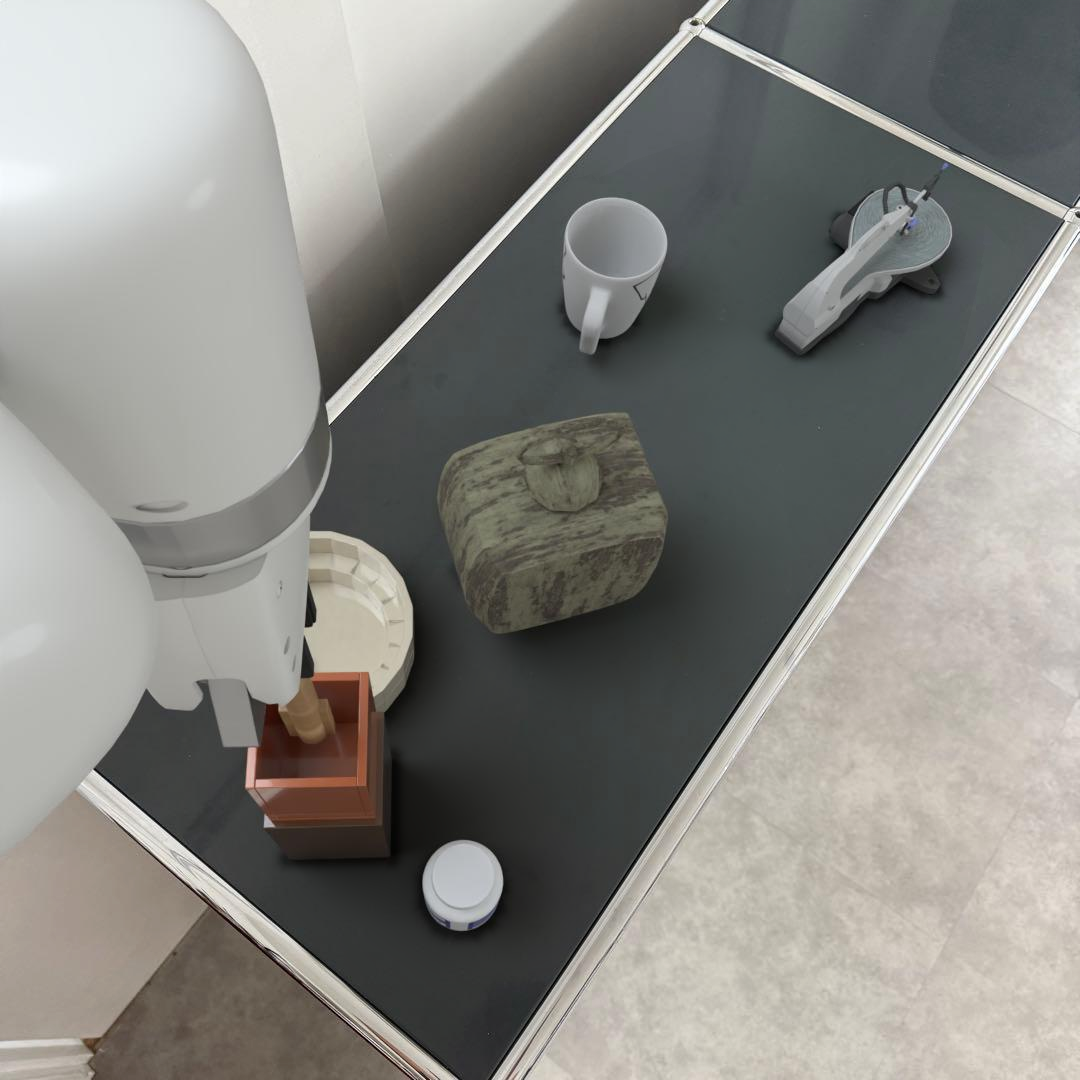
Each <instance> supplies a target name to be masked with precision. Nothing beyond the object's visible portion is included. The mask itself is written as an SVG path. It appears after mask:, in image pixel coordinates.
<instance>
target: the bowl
mask: <svg viewBox="0 0 1080 1080" xmlns="http://www.w3.org/2000/svg"><path fill="white" fill-rule="evenodd" d="M308 582H309V585H310V589H311V592H312V595H313V599H314V602H315V606H316V609H317V614H316V622H315V623H313V626H312V627H309V628H304V635H305V638H306V641H307V644H308V647H309V650H310V653H311V655H312V658H313V661H314V673H315V672H359V673H360V672H369V676H370V681H371V687H372V692H373V697H374V703H375V708H376V712H384V713H385V712H386V711H387V710H388V709H390V707H391V705H392V704H393V703H394V701H395V700H396V698H398V697H399V695H400V694H401V692H402V691H403V690H404V688H405V687H406V684H407V681H408V678H409V675H410V673H411V669H412V666H413V665H414V661H415V620H414V618H415V617H414V605H413V602H412V599H411V597H410V594H409V591H408V588H407V585H406V582H405V580H404V578H403V576H402V575H401V574H400V573H399V571H398V570H397V569H396V567H395V566H394V565H393V563H392V562H391V561H390V560H389V558H388V557H387V556H386V555H385V554H383V553H382V552H380V551H379V550H377V549H376V548H375V547H373V546H371V545H370V544H368V543H367V542H365V541H364V540H362V539H359V538H357V537H352V536H349V535H346V534H343V533H338V532H335V531H331V530H310V543H309V569H308Z"/></svg>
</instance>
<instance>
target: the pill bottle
mask: <svg viewBox="0 0 1080 1080" xmlns="http://www.w3.org/2000/svg"><path fill="white" fill-rule="evenodd" d="M421 883H422V884H421V885H422V893H423V898H424V902H425V906H426V908H427V910H428V912H429V914H430V915H431V917H432V918H433V919H434V920H435V921H436V923H438V924H439V925H441V926H443V927H445V928H447V929H449V930H452V931H456V932H457V931H458V932H464V931H465V932H467V931H470V930H474V929H477V928H479V927H480V926H482V925H484V924H486V922H487V921H488V920H489V919H490V918H491V917H492V916H493V914H495V913H494V912H495V911H496V909H497V907H498V905H499V901H500V898H501V896H502V892H503V887H504V876H503V870H502V866H501V864H500V862H499V860H498V858H497V856H496V855H495V854H494V853H493V852H492V851H491V850H490V849H489V848H488V847H487V846H485V845H483V844H482V843H480V842H477V841H475V840H474V841H473V840H470V839H457V840H453V841H450V842H447V843H445V844H443V845H442V846H440V847H439V848H438V849H436V850H435V851H434V853H433V854H431V856H430V858H429V859H428V860H427V863H426V865H425V867H424V870H423V873H422V881H421Z"/></svg>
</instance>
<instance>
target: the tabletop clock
mask: <svg viewBox="0 0 1080 1080" xmlns="http://www.w3.org/2000/svg"><path fill="white" fill-rule="evenodd" d="M436 501H437V502H436V503H437V507H438V513H439V514H438V515H439V519H440V521H441V525H442V528H443V531H444V535H445V537H446V541H447V545H448V547H449V550H450V554H451V558H452V561H453V564H454V567H455V571H456V574H457V578H458V581H459V584H460V587H461V591H462V593H463V597H464V601H465V603H466V606H467V608H468V611H469V612H470V613H471V615H473V616H474V617H475V618H476V619H477V620H478V621H479V622H480V623H482V624H483V625H484V626H485V627H486V628H487V629H488V630H489V631H490V632H491V633H493V634H495V635H500V634H507V633H513V632H518V631H522V630H526V629H530V628H533V627H537V626H542V625H546V624H550V623H554V622H557V621H561V620H565V619H569V618H573V617H576V616H580V615H583V614H586V613H590V612H593V611H597V610H600V609H604V608H607V607H611V606H614V605H617V604H619V603H622V602H625V601H627V600H630V599H632V598H634V597H635V596H636V595H638V593H640V592H641V591H642V590H643V589H644V588H645V586H646V585H647V583H648V581H649V580H650V578H651V577H652V575H653V573H654V572H655V570H656V568H657V566H658V563H659V561H660V558H661V555H662V552H663V549H664V545H665V538H666V533H667V527H668V521H669V514H668V510H667V507H666V504H665V502H664V500H663V496H662V495H661V491H660V489H659V486H658V485H657V482H656V480H655V477H654V474H653V472H652V468H651V466H650V464H649V461H648V458H647V455H646V453H645V451H644V449H643V446H642V444H641V441H640V438H639V436H638V433H637V430H636V428H635V426H634V422H633V421H632V419H631V417H630V415H629V414H628V412H605V413H597V414H591V415H585V416H580V417H576V418H570V419H565V420H561V421H560V420H559V421H555V422H550V423H545V424H541V425H537V426H532V427H529V428H525V429H522V430H518V431H514V432H510V433H507V434H503V435H500V436H496V437H492V438H489V439H486V440H483V441H480V442H477V443H473V444H471V445H469V446H467V447H465V448H462V449H460V450H458V451H455V452H453V454H452V455H451V456H450V457H449V460H447V462H446V463H445V464H444V467H443V469H442V471H441V473H440V477H439V483H438V488H437V495H436Z"/></svg>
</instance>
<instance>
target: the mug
mask: <svg viewBox="0 0 1080 1080" xmlns="http://www.w3.org/2000/svg"><path fill="white" fill-rule="evenodd" d="M564 231H565V232H564V237H563V248H562V249H563V250H562V251H563V253H562V269H561V270H562V272H561V273H562V285H563V286H562V287H563V288H562V289H563V297H564V307H565V312H566V315H567V317H568V320H569V322H570V323H571V324H572V326H573V327H574V328H575V329H576V330H577V331H579V332H580V338H579V339H580V340H579V351H580V352H581V353H583V354H586V355H594V354H595V352H596V350H597V347H598V343H599V340H600V339H610V338H611V339H612V338H615V337H618V336H620V335H622V334H624V333H625V332H627V330H629V328H630V327H631V326H632V325H633V323H634V322H635V321H636V319H637V317H638V316H639V314H640V312H641V311H642V309H643V307H644V306H645V304H646V302H647V301H648V299H649V297H650V295H651V293H652V291H653V289H654V287H655V284H656V282H657V280H658V277H659V275H660V271H661V269H662V268H663V265H664V262H665V259H666V255H667V252H668V236H667V233H666V230H665V228H664V226H663V224H662V222H661V221H660V219H659V218H658V217H657V216H656V214H655V213H654V212H652V210H650V209H648V208H647V207H646V206H644V205H642V204H640V203H638V202H636V201H633V200H630V199H627V198H623V197H622V198H621V197H620V198H619V197H602V198H598V199H594V200H591V201H588V202H587V203H585V204H583V205H582V206H580V207H579V208H577V210H575V211H574V212H573V214H572V215H571V217H570V218H569V220H568V221H567V224H566V227H565V230H564Z"/></svg>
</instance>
